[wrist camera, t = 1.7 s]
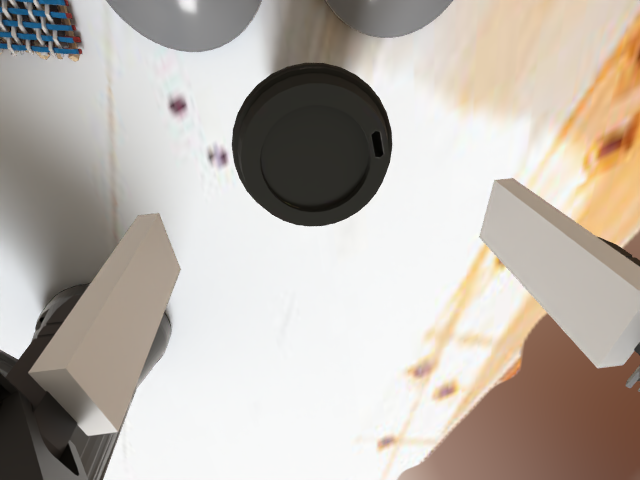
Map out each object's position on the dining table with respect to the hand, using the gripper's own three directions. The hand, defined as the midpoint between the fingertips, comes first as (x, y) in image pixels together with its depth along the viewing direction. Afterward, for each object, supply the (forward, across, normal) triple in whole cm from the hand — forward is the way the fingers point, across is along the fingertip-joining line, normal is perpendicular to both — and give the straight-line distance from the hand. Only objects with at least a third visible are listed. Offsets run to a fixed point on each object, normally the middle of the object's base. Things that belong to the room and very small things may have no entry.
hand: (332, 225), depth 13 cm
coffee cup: (+22, 0, 0) cm, 22 cm away
